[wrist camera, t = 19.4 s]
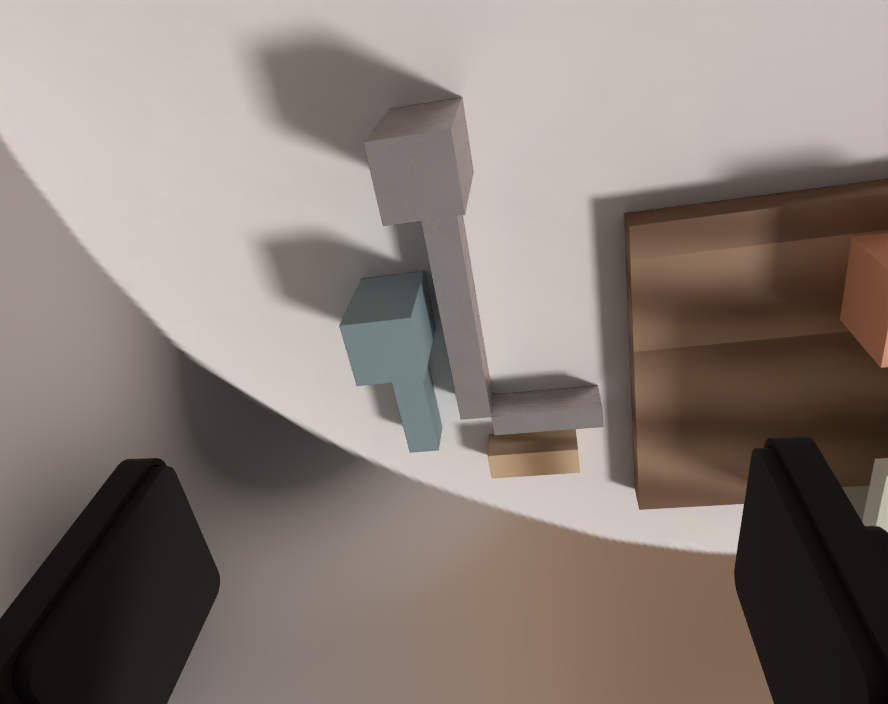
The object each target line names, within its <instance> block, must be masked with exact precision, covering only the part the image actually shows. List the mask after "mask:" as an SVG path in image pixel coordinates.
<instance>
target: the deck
mask: <svg viewBox="0 0 888 704" xmlns="http://www.w3.org/2000/svg"><path fill="white" fill-rule="evenodd" d="M624 216H625V242H626V268H627V294H628V319H629V345H630V371H631V397H632V422H633V448H634V474H635V491H636V496H637V501H638V506H639V510H642V509H660V508H677V507H695V506H713V505H730V504H744V502H745V495H746V488H747V481H748V475H749V468H750V461H751V455H752V451H753V449H754V448H764V444H765V442H766V440H767V439H768V438H778V437H810V438H812V439H813V440H814V442H815V443H816V445H817V446H818V448H819V450H820V451H821V453H822V455H823V456H824V458H825V460H826V461H827V463H828V465H829V467H830V468H831V470H832V472H833V473H834V475H835V477H836V478H837V480H838V482H839V483H840V485H841V487H852V486H869V485H870V481H871V476H872V471H873V466H874V461H875V459H881V458H888V367H885V368H881V367H880V366H879V365H878V364H877V363H876V362H875V360H874V359H873V358H872V357H871V356H870V355H869V353H868V352H867V351H866V350H865V349H864V348H863V346H862V345H861V344H860V343H859V342H858V340H857V339H856V338H855V337H854V336H853V335H852V333H851V332H850V331H849V330H848V329H847V328H846V326H845V325H844V324H843V323H842V322H841V321H840V316H841V309H842V302H843V295H844V287H845V280H846V273H847V266H848V259H849V252H850V244H851V237H857V236H866V235H874V234H882V233H888V179H884V180H877V181H869V182H861V183H854V184H846V185H838V186H831V187H823V188H816V189H808V190H800V191H793V192H785V193H777V194H770V195H762V196H755V197H747V198H739V199H732V200H724V201H717V202H709V203H701V204H694V205H686V206H678V207H671V208H663V209H656V210H648V211H640V212H633V213H625V214H624Z"/></svg>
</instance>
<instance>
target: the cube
mask: <svg viewBox="0 0 888 704" xmlns="http://www.w3.org/2000/svg"><path fill="white" fill-rule="evenodd" d="M840 321H841V322H842V323H843V324H844V325H845V326H846V328H847V329H848V330H849V331H850V332H851V333H852V335H853V336H854V337H855V338H856V339H857V340H858V342H859V343H860V344H861V345H862V346H863V348H864V349H865V350H866V351H867V352H868V353H869V355H870V356H871V357H872V358H873V359H874V360H875V362H876V363H877V364H878V365H879V366H880V367H881V368H885V367H888V233H882V234H874V235H866V236H857V237H851V244H850V252H849V259H848V266H847V273H846V280H845V287H844V295H843V302H842V309H841V316H840Z"/></svg>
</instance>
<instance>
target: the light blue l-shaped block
mask: <svg viewBox="0 0 888 704" xmlns="http://www.w3.org/2000/svg"><path fill="white" fill-rule="evenodd" d="M339 327H340V330H341V333H342V337H343V340H344V344H345V347H346V351H347V354H348V357H349V361H350V364H351V368H352V371H353V375H354V378H355V382H356V385H357V386H363V385H374V384H384V383H392V385H393V389H394V393H395V397H396V401H397V405H398V409H399V412H400V416H401V420H402V424H403V428H404V432H405V436H406V440H407V443H408V447H409V451H410V452H423V451H436V450H439V445H440V439H441V433H442V424H441V419H440V415H439V410H438V405H437V401H436V396H435V392H434V387H433V383H432V378H431V374H430V369H429V365H428V362H429V357H430V352H431V348H432V343H433V338H434V334H435V329H436V326H435V321H434V316H433V312H432V307H431V302H430V297H429V292H428V287H427V283H426V278H425V273H424V271H420V272H412V273H404V274H396V275H388V276H379V277H371V278H363V279H361V281H360V283H359V285H358V287H357V289H356V291H355V293H354V296H353V298H352V300H351V302H350V304H349V306H348V308H347V310H346V313H345V315H344V317H343V319H342V321H341V323H340V325H339Z"/></svg>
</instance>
